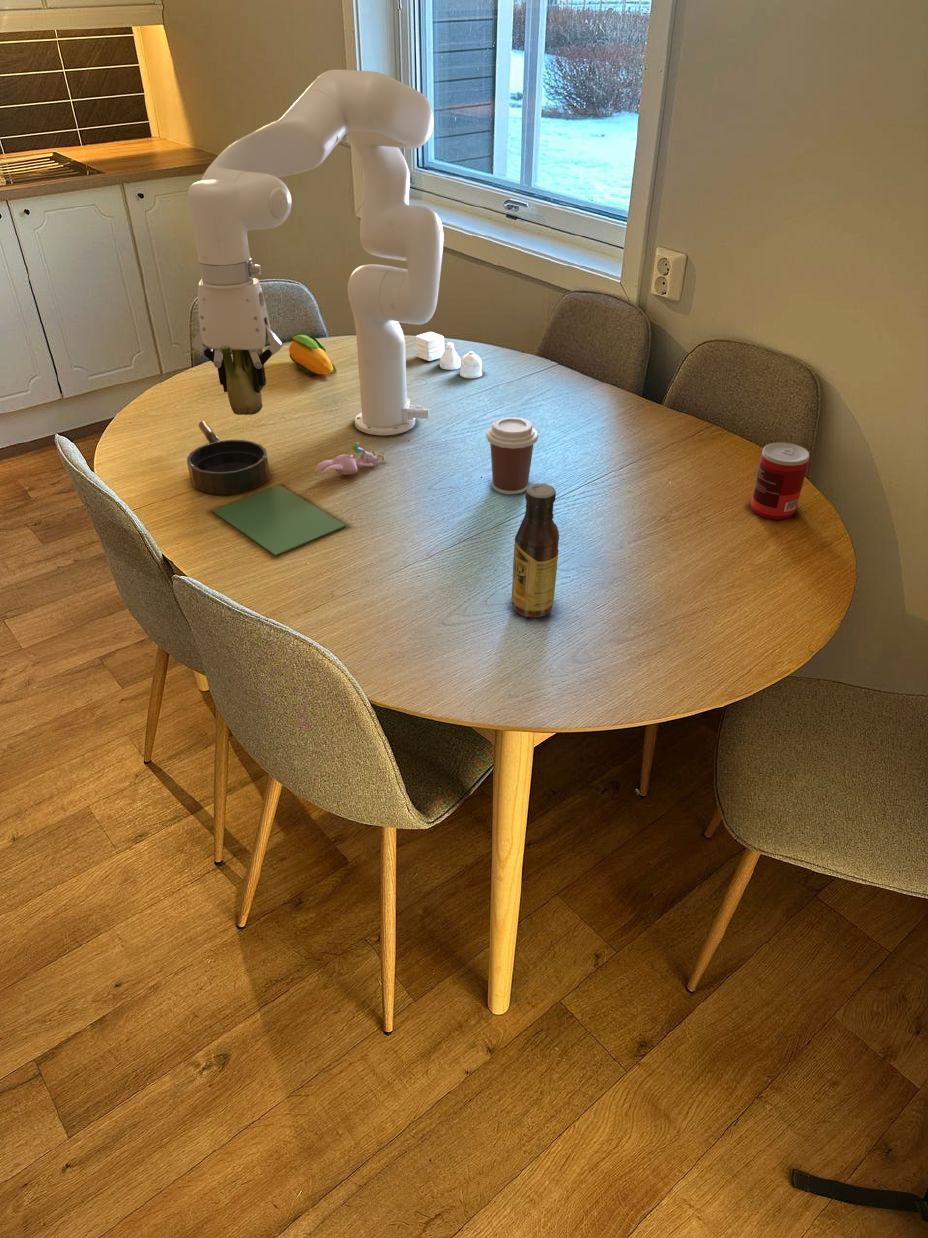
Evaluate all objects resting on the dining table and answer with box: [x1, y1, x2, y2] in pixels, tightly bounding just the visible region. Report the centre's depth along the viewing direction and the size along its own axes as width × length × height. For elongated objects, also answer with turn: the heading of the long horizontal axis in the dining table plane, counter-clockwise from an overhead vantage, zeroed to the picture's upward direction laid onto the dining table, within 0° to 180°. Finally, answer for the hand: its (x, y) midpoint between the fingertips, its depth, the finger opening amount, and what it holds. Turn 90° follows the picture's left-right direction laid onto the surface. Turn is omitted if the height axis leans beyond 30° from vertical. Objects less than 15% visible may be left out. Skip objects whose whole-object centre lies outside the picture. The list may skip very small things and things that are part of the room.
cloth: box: [211, 484, 347, 557], centre depth 150 cm, size 20×14×1 cm
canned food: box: [750, 441, 811, 520], centre depth 150 cm, size 8×8×11 cm
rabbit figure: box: [314, 441, 386, 476], centre depth 163 cm, size 6×6×15 cm
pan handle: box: [198, 420, 221, 444], centre depth 170 cm, size 12×2×2 cm, turn 28°
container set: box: [415, 331, 483, 379], centre depth 209 cm, size 20×5×6 cm, turn 42°
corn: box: [288, 334, 338, 375], centre depth 206 cm, size 7×8×20 cm
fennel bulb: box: [221, 346, 263, 416], centre depth 141 cm, size 6×5×12 cm
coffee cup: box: [485, 416, 539, 495], centre depth 157 cm, size 9×9×12 cm
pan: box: [186, 439, 271, 496], centre depth 161 cm, size 14×14×4 cm
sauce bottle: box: [511, 482, 560, 619], centre depth 123 cm, size 7×6×20 cm
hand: (243, 388), depth 142 cm, fingers closed on fennel bulb, 4 cm apart
